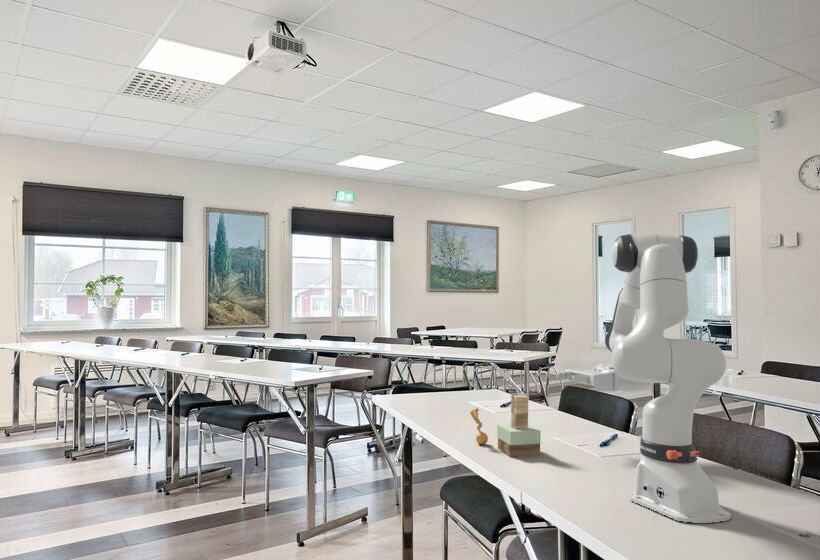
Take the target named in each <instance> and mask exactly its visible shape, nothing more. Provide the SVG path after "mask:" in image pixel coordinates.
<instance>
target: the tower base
mask: <svg viewBox="0 0 820 560" xmlns="http://www.w3.org/2000/svg"><path fill="white" fill-rule="evenodd" d="M497 449H498V451H500V450H501V451H500V452H501V453H503V454H504V455H506V456H507V457H508V458H512V457H513V458H517V456H522V457H540V456H541V443H540V444H524V445H509V444H508V443H506V442H504V441H502V440H501V439H499V438H497Z"/></svg>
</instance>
